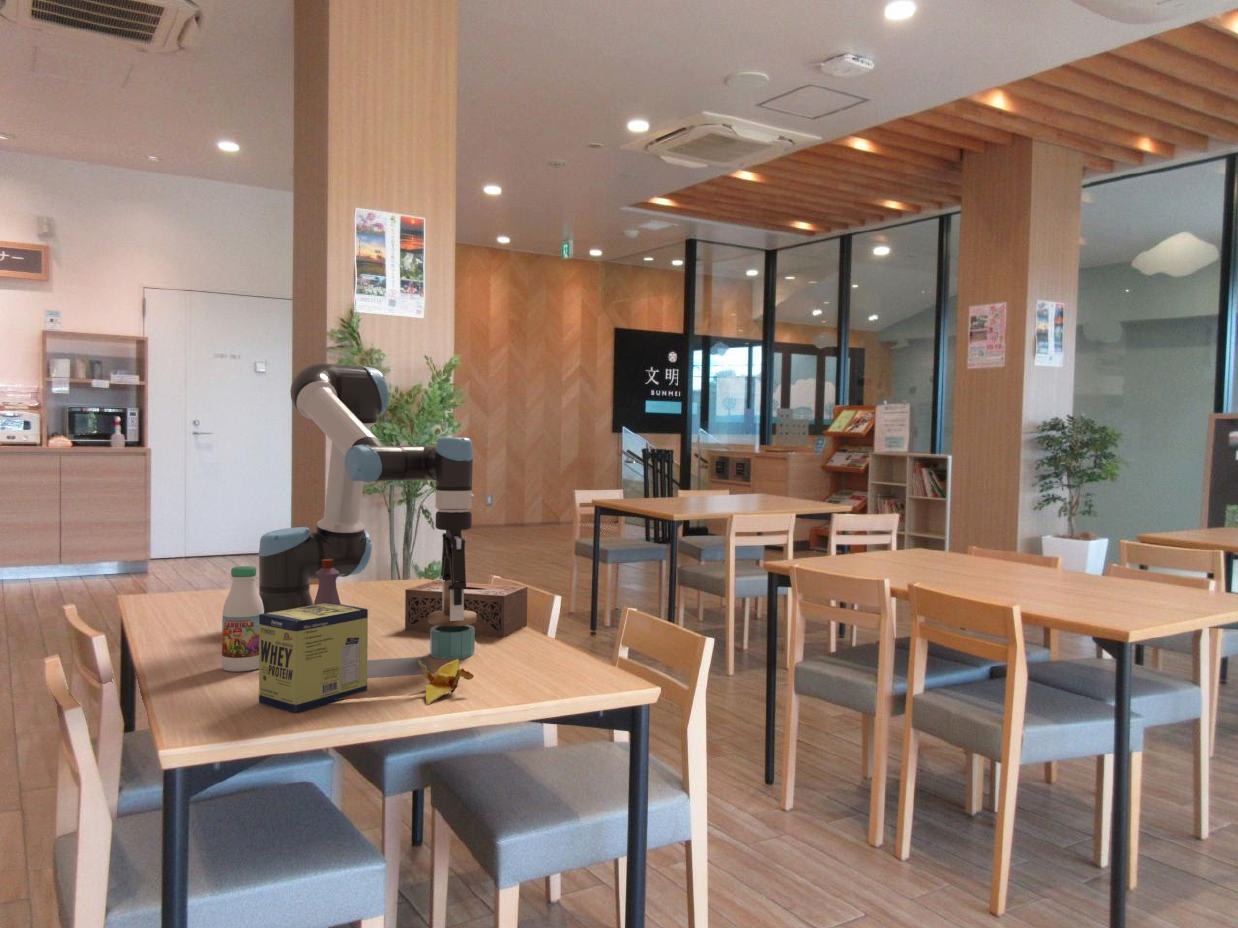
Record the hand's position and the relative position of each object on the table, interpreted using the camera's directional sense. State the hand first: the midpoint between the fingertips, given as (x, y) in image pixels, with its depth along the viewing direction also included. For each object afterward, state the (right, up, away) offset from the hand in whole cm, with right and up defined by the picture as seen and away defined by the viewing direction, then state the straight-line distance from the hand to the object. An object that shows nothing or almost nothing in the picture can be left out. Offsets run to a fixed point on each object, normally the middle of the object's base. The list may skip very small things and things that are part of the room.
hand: (452, 615), depth 190 cm
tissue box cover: (-2, -8, +30) cm, 31 cm away
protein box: (-18, -9, -32) cm, 38 cm away
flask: (-27, -8, +1) cm, 28 cm away
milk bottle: (-39, -9, -12) cm, 42 cm away
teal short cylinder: (0, -9, 0) cm, 9 cm away
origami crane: (+3, -10, -26) cm, 28 cm away
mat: (-10, -9, -12) cm, 18 cm away
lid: (0, -1, 0) cm, 1 cm away
